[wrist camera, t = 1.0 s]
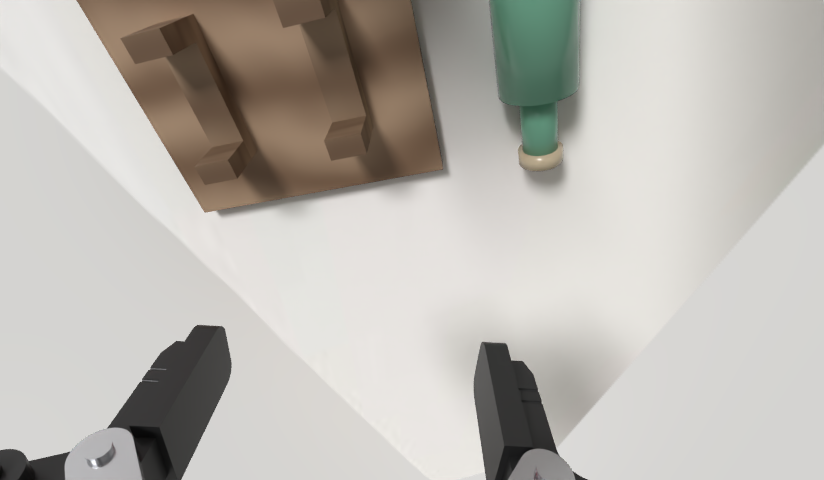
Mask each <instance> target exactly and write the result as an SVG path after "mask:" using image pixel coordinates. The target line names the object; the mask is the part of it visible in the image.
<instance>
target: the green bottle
mask: <svg viewBox="0 0 824 480" xmlns="http://www.w3.org/2000/svg"><path fill="white" fill-rule="evenodd" d="M489 5H490V16H491V26H492V36H493V46H494V57H495V67H496V77H497V87H498V97H499V99H500V101H502V102H503V103H506V104H509V105H515V106H520V121H521V135H522V145H521V146H520V147H519V149H518V155H519V165H520V166H521V167H522V168H524V169H526V170H530V171H545V170H550V169H553V168H555V167H557V166H558V165H560V164H561V163H562V161H563V145H562V143H561V142H560V141H558V107H557V101H559V100H562V99H564V98H567V97H569V96H571V95H572V94H574V93H575V92H576V91H577V90H578V88H579V55H580V0H489Z"/></svg>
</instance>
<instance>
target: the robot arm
mask: <svg viewBox="0 0 824 480" xmlns="http://www.w3.org/2000/svg"><path fill="white" fill-rule="evenodd" d="M230 374H231V358H230V353H229V348H228V342H227V337H226V333H225V329H224V328H223V327H222V326H206V325H197V326H195V327H194V328H193V330H192V331H191V333H190V334H189V336H188V337H187V339H186V340H185V342H181V341H176V342H175V343H173V344H172V345H171V346H169V347H168V348H167V349H165V350H164V351H163V352H162V353H160V355H159V356H158V358H157V359H156V360H155V362H154V363H153V365H152V366H151V369H150V370H148V372H147V373H146V375H145V376H144V377H143V379H142V382H140V383H139V384H138V386H137V387H136V389H135V390H134V391H133V393H132V394H131V396H130V397H129V399H128V400H127V402H126V403H125V404H124V406H123V407H122V408H121V410H120V411H119V413H118V414H117V416H116V417H115V418H114V420H113V421H112V422H111V424H110V425H109V427H108V428H107V429H103V430H100V431H98V432H95V433H93V434H91V435H89V436H88V437H86V438H85V439H83V440H82V441H81V442H80V443H78V444H77V445H76V446H75V447H74V449H72V451H71V452H67V453H63V454H59V455H54V456H50V457H46V458H41V459H37V460H32V461H28V460H27V458H26V456H25V455H24V454H23V453H22V452H21V451H18V450H14V449H6V450H0V480H181V479H182V477H183V474H184V472H185V470H186V468H187V466H188V464H189V462H190V460H191V458H192V456H193V454H194V452H195V450H196V448H197V446H198V443H199V441H200V439H201V437H202V435H203V433H204V431H205V429H206V427H207V425H208V423H209V421H210V418H211V416H212V414H213V412H214V410H215V408H216V406H217V404H218V402H219V400H220V398H221V396H222V394H223V392H224V390H225V387H226V385H227V383H228V381H229V378H230ZM474 398H475V405H476V412H477V419H478V426H479V433H480V439H481V446H482V453H483V460H484V467H485V474H486V480H587V479H585V478H582V477H580V476H579V475H577V474H576V473H574V472H573V471H572V469H571V468H570V466H569V465H568V464H567V462H565V461H564V459H562V458H561V457H560V456H559V454H558V452H557V450H556V447H555V443H554V440H553V437H552V434H551V430H550V427H549V424H548V421H547V417H546V414H545V411H544V408H543V404H541V398H540V395H539V392H538V388H537V385H536V382H535V379H534V375H533V374H532V372H531V371H530V370H529V369H528V367H527V366H526V365H525V364H524V362H523V361H511V358H510V355H509V351H508V347H507V345H506V344H505V343H491V342H482V343H481V346H480V351H479V356H478V361H477V366H476V371H475V376H474Z"/></svg>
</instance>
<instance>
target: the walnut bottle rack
mask: <svg viewBox="0 0 824 480" xmlns="http://www.w3.org/2000/svg"><path fill="white" fill-rule="evenodd" d="M77 2H78V3H79V5H80V7H81V8H82V10H83V12H84V13H85V15H86V17H87V18H88V20H89V22H90V23H91V25H92V26H93V28H94V30H95V31H96V33H97V35H98V36H99V38H100V40H101V41H102V43H103V45H104V46H105V48H106V50H107V51H108V53H109V55H110V56H111V58H112V60H113V61H114V63H115V65H116V66H117V68H118V70H119V71H120V73H121V75H122V76H123V78H124V80H125V81H126V83H127V84H128V86H129V88H130V89H131V91H132V93H133V94H134V96H135V98H136V99H137V101H138V103H139V104H140V106H141V108H142V109H143V111H144V113H145V114H146V116H147V118H148V119H149V121H150V123H151V124H152V126H153V128H154V129H155V131H156V133H157V134H158V136H159V138H160V139H161V141H162V142H163V144H164V146H165V147H166V149H167V151H168V152H169V154H170V156H171V157H172V159H173V161H174V162H175V164H176V166H177V167H178V169H179V171H180V172H181V174H182V176H183V177H184V179H185V181H186V182H187V184H188V186H189V187H190V189H191V191H192V192H193V194H194V196H195V197H196V199H197V200H198V202H199V204H200V205H201V207H202V209H203V210H204V212H211V211H216V210H222V209H227V208H233V207H238V206H244V205H249V204H255V203H260V202H266V201H271V200H277V199H282V198H288V197H293V196H299V195H304V194H310V193H315V192H321V191H326V190H332V189H337V188H343V187H348V186H354V185H359V184H365V183H370V182H376V181H381V180H387V179H392V178H398V177H403V176H409V175H414V174H420V173H425V172H431V171H436V170H442V169H443V164H442V158H441V152H440V147H439V142H438V137H437V132H436V126H435V121H434V116H433V111H432V106H431V101H430V95H429V90H428V85H427V80H426V75H425V70H424V64H423V59H422V54H421V49H420V44H419V38H418V33H417V28H416V23H415V18H414V13H413V7H412V2H411V0H77Z"/></svg>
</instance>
